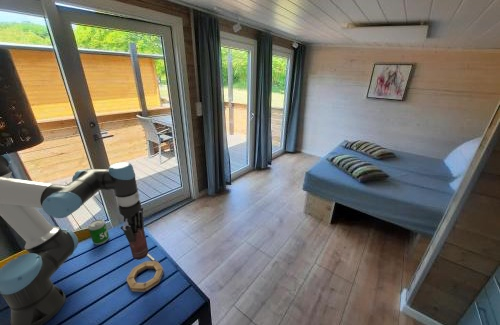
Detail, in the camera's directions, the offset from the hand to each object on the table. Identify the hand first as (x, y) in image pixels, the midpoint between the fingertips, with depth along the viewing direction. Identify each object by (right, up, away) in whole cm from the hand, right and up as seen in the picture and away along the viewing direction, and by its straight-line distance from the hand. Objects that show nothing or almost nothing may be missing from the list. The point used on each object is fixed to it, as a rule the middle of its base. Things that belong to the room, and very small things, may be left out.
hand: (139, 248), depth 90 cm
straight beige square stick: (-5, -11, +18) cm, 21 cm away
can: (0, -3, +1) cm, 4 cm away
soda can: (-35, -6, +26) cm, 44 cm away
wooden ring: (-1, -16, +7) cm, 17 cm away
